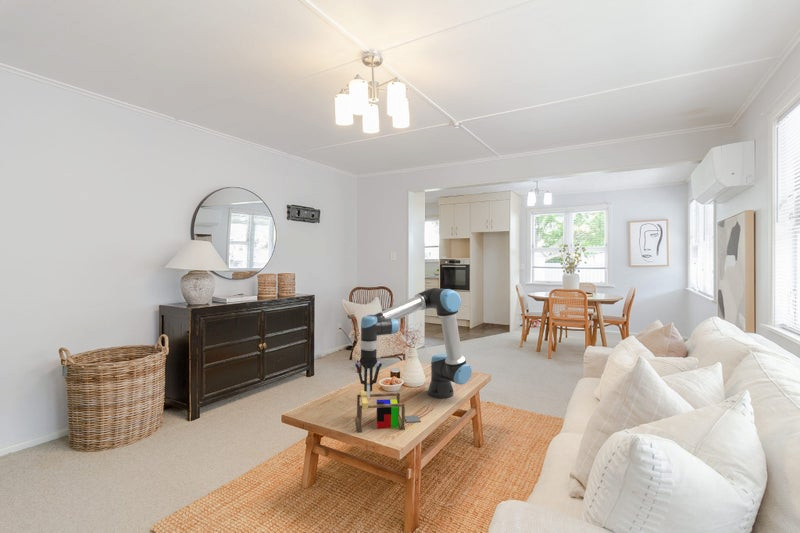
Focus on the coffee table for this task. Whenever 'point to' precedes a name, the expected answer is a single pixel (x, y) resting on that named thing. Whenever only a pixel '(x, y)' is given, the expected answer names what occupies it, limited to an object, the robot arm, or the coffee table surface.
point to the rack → (359, 408)
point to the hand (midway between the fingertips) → (368, 397)
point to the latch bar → (364, 399)
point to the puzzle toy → (387, 414)
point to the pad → (412, 419)
